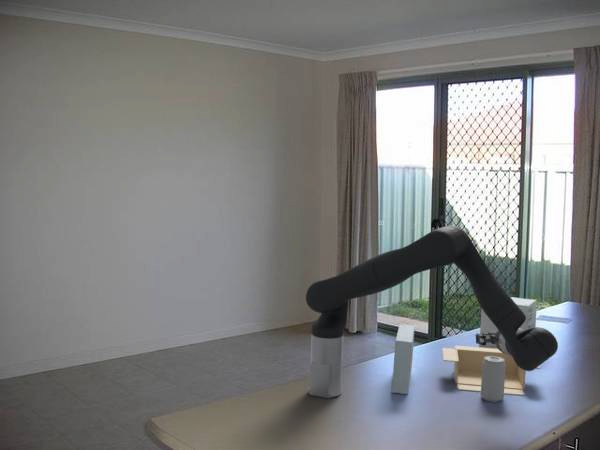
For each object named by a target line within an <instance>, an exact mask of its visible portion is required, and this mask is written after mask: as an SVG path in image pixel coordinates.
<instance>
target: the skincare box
mask: <svg viewBox="0 0 600 450" xmlns="http://www.w3.org/2000/svg"><path fill="white" fill-rule="evenodd" d="M414 340H415V325H411V324H402V323H399V325H398V329H397V334H396V338H395V342H394V343H395V344H394V355H393V356H394V357H393V367H392V380H391V381H392V382H391V390H390V391H391V392H390V393H393V394H402V395H408V394H409V389H410V383H411V382H410V381H411V376H412V374H411V373H412V368H413V367H412V366H413V355H414V343H415V341H414Z"/></svg>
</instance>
